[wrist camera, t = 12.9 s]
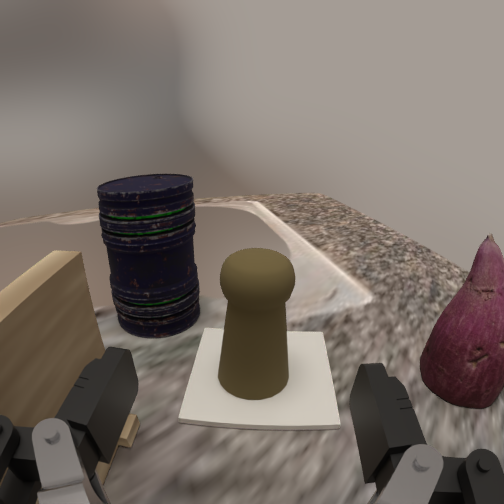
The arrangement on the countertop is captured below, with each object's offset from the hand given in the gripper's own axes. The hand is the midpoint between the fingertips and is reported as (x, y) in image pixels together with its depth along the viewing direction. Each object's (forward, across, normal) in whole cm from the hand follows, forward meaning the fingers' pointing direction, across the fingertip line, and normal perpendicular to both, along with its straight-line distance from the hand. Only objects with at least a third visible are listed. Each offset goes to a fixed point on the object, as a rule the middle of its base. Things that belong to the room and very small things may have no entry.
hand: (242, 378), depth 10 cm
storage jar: (+22, +11, +13) cm, 27 cm away
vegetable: (+11, -21, +12) cm, 27 cm away
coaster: (+12, -1, +12) cm, 18 cm away
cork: (+12, 0, +12) cm, 17 cm away
